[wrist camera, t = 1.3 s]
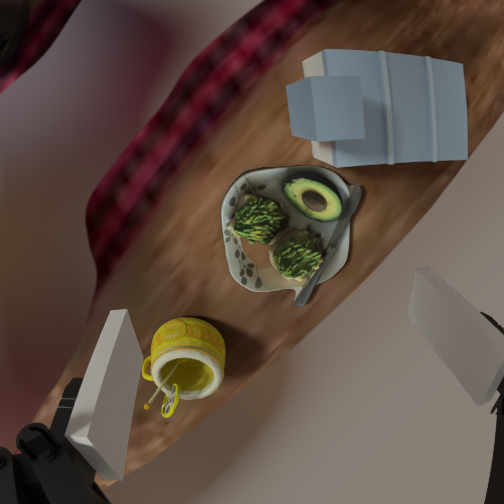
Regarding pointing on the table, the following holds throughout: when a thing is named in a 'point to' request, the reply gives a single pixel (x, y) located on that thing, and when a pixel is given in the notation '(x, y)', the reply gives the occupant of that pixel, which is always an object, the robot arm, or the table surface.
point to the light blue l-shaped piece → (382, 108)
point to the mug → (185, 361)
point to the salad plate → (288, 226)
